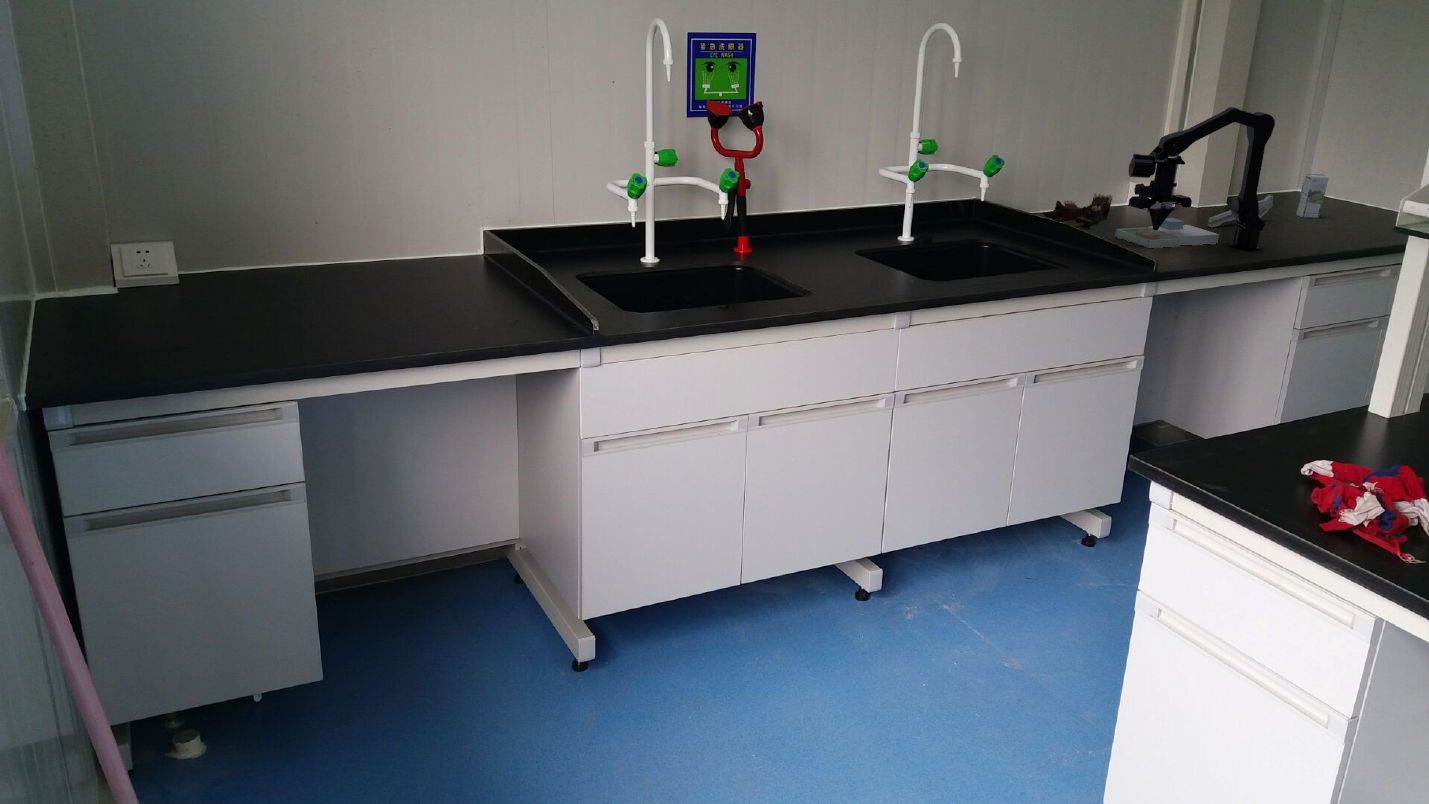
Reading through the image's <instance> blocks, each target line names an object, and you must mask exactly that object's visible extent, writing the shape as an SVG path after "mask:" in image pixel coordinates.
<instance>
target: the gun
mask: <svg viewBox="0 0 1429 804" xmlns="http://www.w3.org/2000/svg"><path fill="white" fill-rule="evenodd" d="M1258 203H1259V218H1260V219H1261V218H1263V216H1264V215H1265V214H1267V212H1268V211H1269V210H1270V209H1272V208H1273V203H1274V196H1273V195H1270V194H1267V196H1266V197H1264V199H1261V200H1258ZM1207 220H1208V221H1207V222H1208V223H1207V226H1208V227H1209V228H1210V227H1211V228H1212V229H1213V227H1214V228H1216V227H1219V226H1221V225H1222V224H1223V223H1226V222H1231V221H1234V220H1235V221H1236V219H1235V218H1234V217H1233V216H1232V211H1231V210H1230V209H1229V210H1227V211H1225V212H1222V213H1219V214H1217V215H1214V216H1210V217H1209V219H1207Z"/></svg>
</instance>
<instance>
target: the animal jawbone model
mask: <svg viewBox="0 0 1429 804" xmlns="http://www.w3.org/2000/svg"><path fill="white" fill-rule="evenodd" d="M1112 201H1113V195H1112V194H1106V195H1104V194H1101V193H1100V192H1099V193H1098V194H1097V193H1096V192H1094V195H1093V197H1092V201H1091V203H1090V204H1089V205H1087V206H1082V207H1080V206H1077V204H1076V203H1075V201H1073V200H1069V199H1067V200H1063V203H1064V204H1063V203H1062V202H1061V201H1060V200H1057V201H1056V202H1055V207H1054V210H1050V211H1045V212H1042V214H1043V215H1044V217H1045V216H1046V217H1049V218H1052V219H1056V220H1066V221H1067V220H1069V221H1075V223H1076V224H1083V226H1084V229H1085V228H1089V229H1090V228H1091V227H1092V226H1091V225H1092V224H1095V223H1097V222H1099V221H1105V220H1106V219H1107V218H1108V216H1109V214H1110V212H1111V211H1110V210H1111V205H1112Z"/></svg>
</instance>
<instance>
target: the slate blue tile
mask: <svg viewBox="0 0 1429 804" xmlns="http://www.w3.org/2000/svg"><path fill="white" fill-rule="evenodd" d="M1183 225H1185V221H1184V220H1181V219H1177V218H1174V217H1167V218H1166V219H1165V220H1164V222H1163V223H1162V225H1161V226H1160V227H1161V228H1165V229H1168V230H1180V229H1183Z"/></svg>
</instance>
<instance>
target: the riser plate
mask: <svg viewBox="0 0 1429 804" xmlns="http://www.w3.org/2000/svg"><path fill="white" fill-rule="evenodd" d="M1147 231H1151V232H1154V233H1157V234H1160V239H1176V238H1178V239H1179V244H1178V245H1179V246H1178V247H1181V246H1180V245H1192V246H1204V245H1203V244H1210V245H1217V244H1218V241H1219V237H1220V234H1219V233H1216V232H1212V231H1210V230H1206V229H1203V228H1200V227H1196V226H1193V225H1190V224H1184V225H1183V229H1180V230H1168V229H1165V228H1161V227H1159V229H1158V230H1153V226H1152V225H1151V226H1148V227H1147ZM1216 243H1217V244H1216Z"/></svg>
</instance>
